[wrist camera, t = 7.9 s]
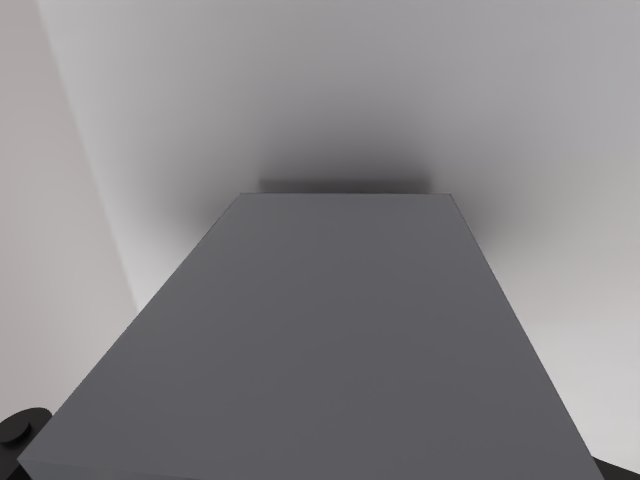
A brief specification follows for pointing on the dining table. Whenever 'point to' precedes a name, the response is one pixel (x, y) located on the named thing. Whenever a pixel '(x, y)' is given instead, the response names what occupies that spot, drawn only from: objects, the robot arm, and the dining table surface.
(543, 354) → the dining table surface
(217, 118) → the dining table surface
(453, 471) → the gray cube
